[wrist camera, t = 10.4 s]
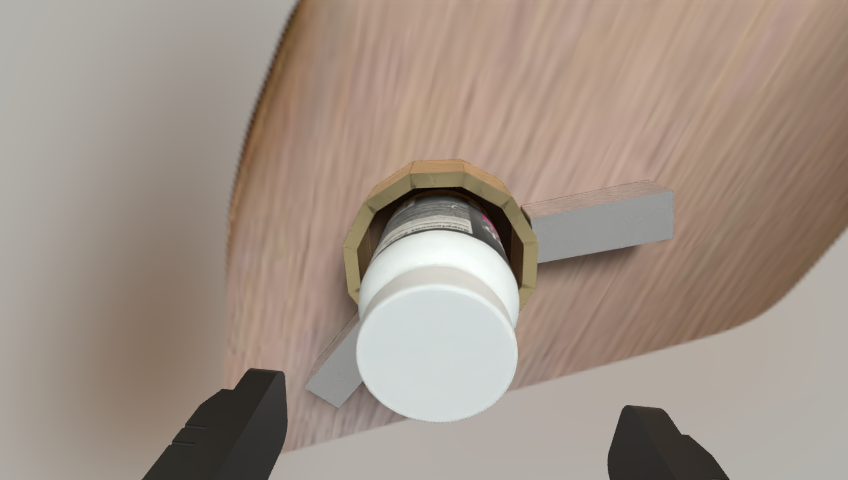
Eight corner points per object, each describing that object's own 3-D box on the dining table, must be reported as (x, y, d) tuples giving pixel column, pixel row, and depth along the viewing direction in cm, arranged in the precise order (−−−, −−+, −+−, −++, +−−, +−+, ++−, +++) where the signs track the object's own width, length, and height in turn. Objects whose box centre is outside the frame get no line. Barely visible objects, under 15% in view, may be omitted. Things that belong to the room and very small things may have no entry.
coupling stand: (587, 49, 17) (617, 41, 14) (664, 215, 20) (704, 237, 17) (240, 272, 22) (208, 301, 19) (337, 386, 24) (322, 428, 21)
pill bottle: (503, 279, 21) (551, 424, 12) (398, 299, 22) (366, 450, 13) (485, 174, 20) (524, 250, 10) (371, 199, 20) (310, 291, 11)
